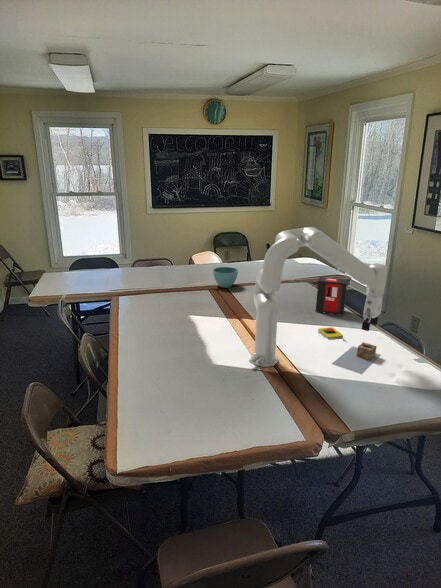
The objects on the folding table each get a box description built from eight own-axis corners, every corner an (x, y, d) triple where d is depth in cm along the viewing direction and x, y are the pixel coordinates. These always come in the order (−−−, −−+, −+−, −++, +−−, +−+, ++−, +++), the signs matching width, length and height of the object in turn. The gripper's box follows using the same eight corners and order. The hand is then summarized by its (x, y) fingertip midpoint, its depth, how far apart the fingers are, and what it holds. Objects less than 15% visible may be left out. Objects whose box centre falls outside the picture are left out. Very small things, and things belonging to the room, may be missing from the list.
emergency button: (331, 324, 221) (346, 335, 208) (330, 331, 223) (345, 342, 209) (316, 325, 219) (330, 336, 205) (315, 333, 221) (329, 344, 207)
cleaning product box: (344, 310, 253) (347, 279, 246) (343, 315, 245) (346, 283, 238) (317, 307, 258) (319, 276, 251) (315, 311, 250) (318, 280, 243)
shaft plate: (361, 377, 175) (362, 365, 173) (330, 366, 184) (332, 355, 182) (380, 357, 193) (382, 347, 191) (352, 349, 201) (353, 338, 199)
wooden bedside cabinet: (356, 356, 190) (358, 346, 189) (361, 351, 195) (363, 341, 193) (370, 360, 187) (371, 350, 185) (375, 355, 191) (376, 345, 190)
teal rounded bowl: (209, 283, 304) (210, 267, 300) (232, 281, 309) (233, 266, 305) (217, 290, 287) (217, 274, 283) (241, 288, 292) (241, 272, 289)
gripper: (376, 298, 172) (370, 335, 178) (389, 289, 185) (384, 324, 190) (359, 294, 177) (353, 330, 182) (373, 285, 189) (368, 319, 195)
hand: (369, 327), depth 186 cm, fingers open, 9 cm apart
